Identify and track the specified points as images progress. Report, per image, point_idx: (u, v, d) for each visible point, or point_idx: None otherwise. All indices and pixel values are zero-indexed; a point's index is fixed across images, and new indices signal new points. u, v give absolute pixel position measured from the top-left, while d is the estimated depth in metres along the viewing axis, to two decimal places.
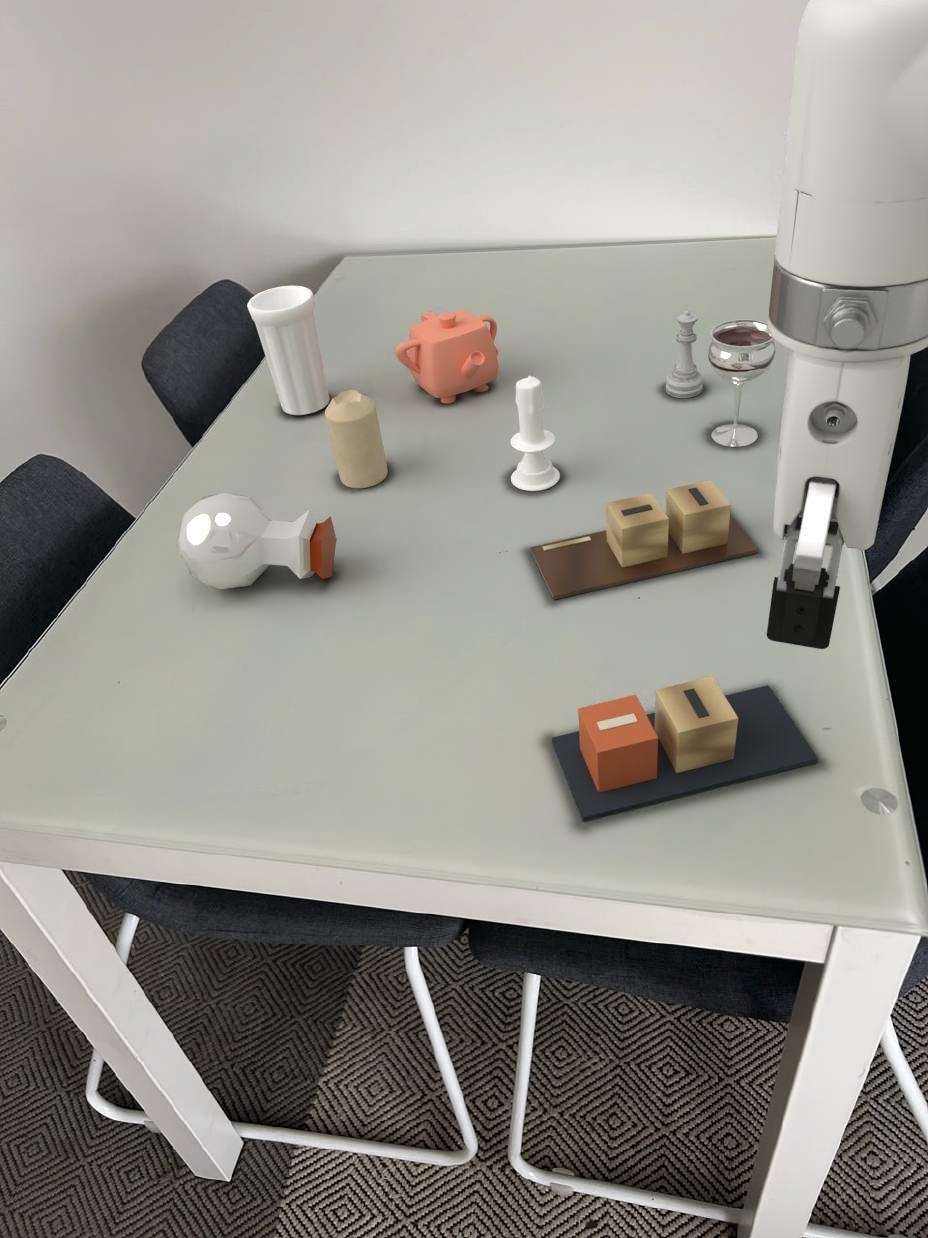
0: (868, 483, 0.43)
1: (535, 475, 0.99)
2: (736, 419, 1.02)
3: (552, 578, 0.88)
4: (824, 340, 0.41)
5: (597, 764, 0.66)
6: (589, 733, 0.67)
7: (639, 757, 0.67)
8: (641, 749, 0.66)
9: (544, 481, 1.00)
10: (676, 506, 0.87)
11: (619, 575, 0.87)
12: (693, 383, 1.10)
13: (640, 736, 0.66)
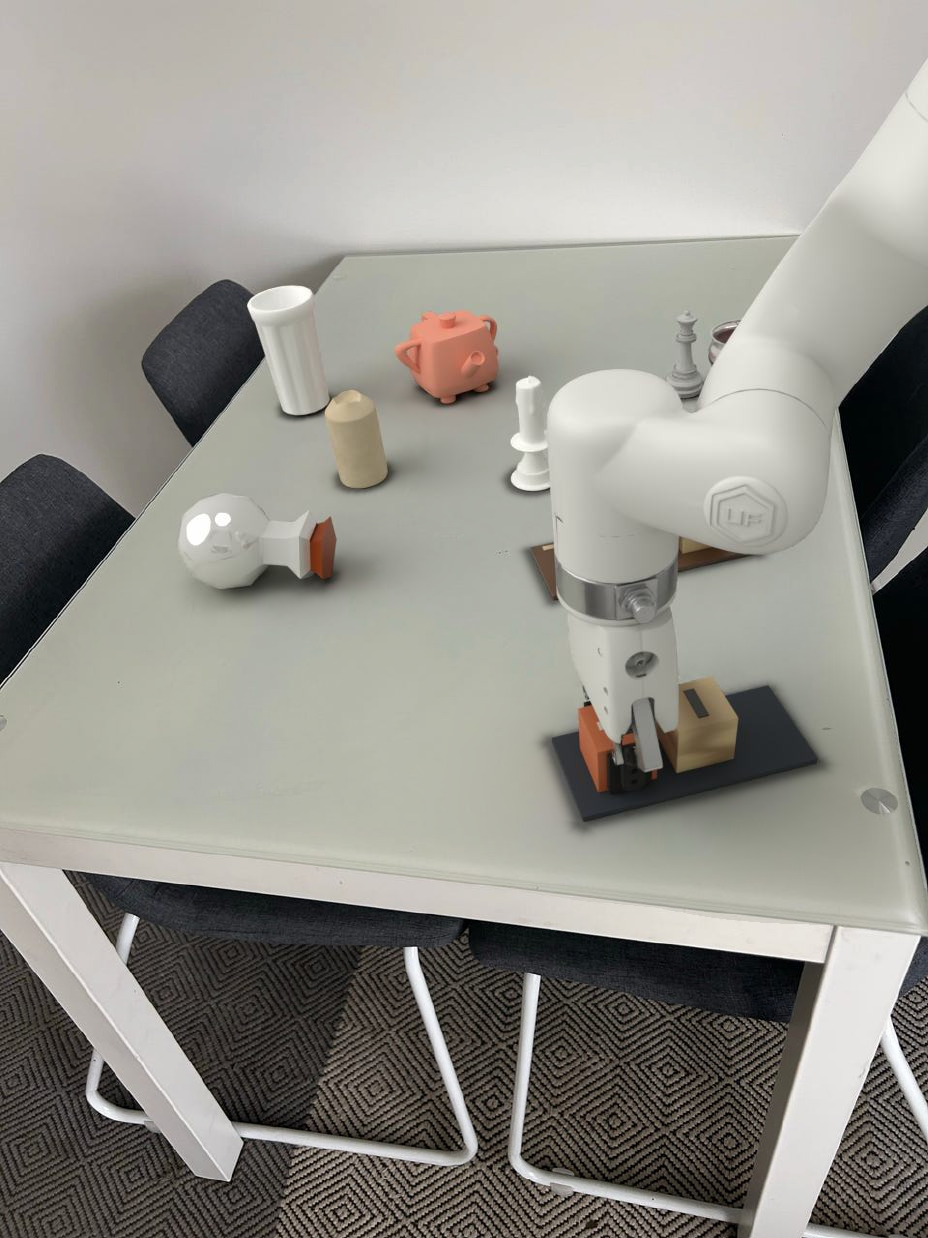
0: (672, 691, 0.59)
1: (535, 475, 0.99)
2: None
3: (552, 578, 0.88)
4: (622, 616, 0.56)
5: (597, 764, 0.66)
6: (589, 733, 0.67)
7: None
8: None
9: (544, 481, 1.00)
10: None
11: None
12: (693, 383, 1.10)
13: None
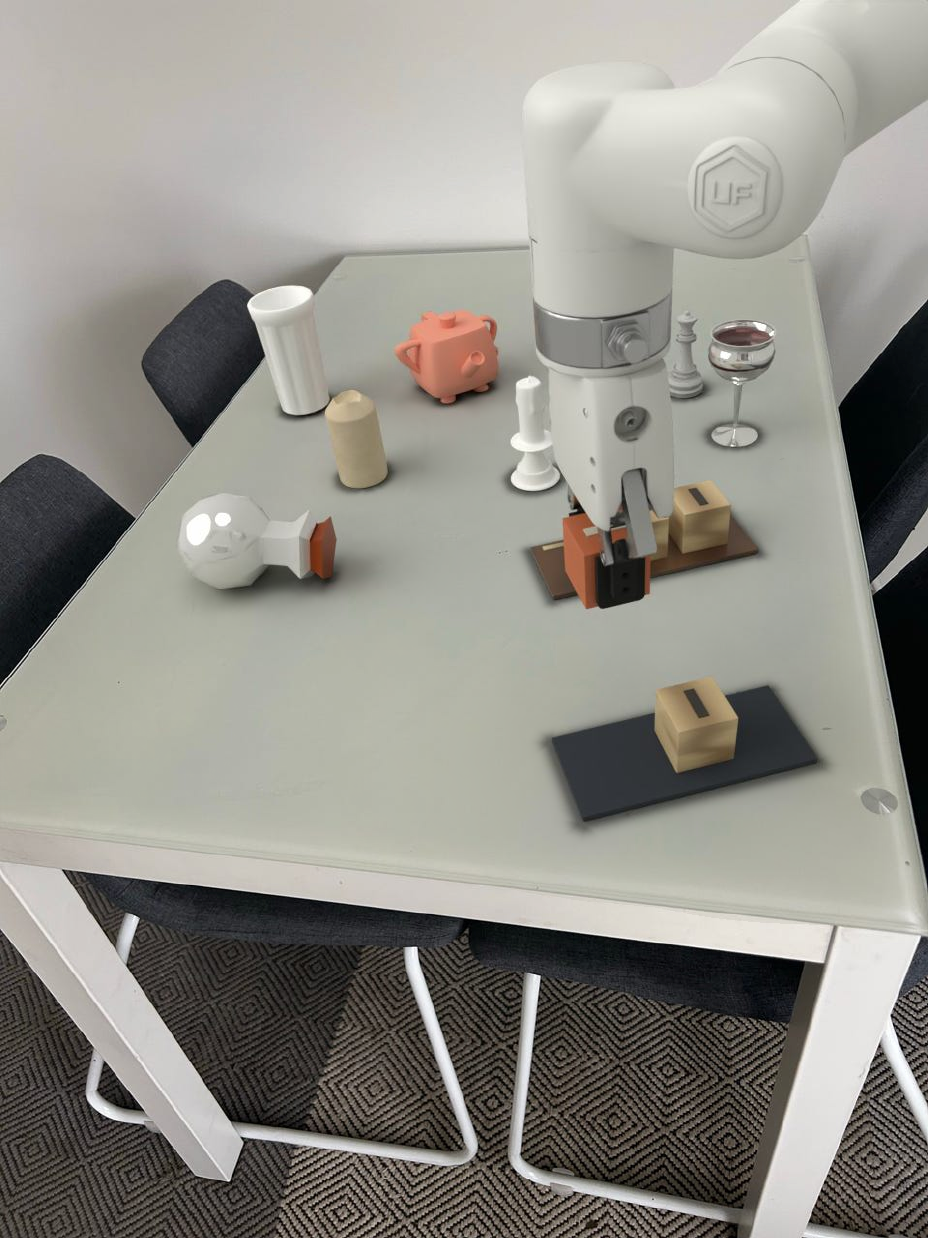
0: (666, 462, 0.53)
1: (535, 475, 0.99)
2: (736, 419, 1.02)
3: (552, 578, 0.88)
4: (609, 361, 0.49)
5: (584, 572, 0.60)
6: (575, 539, 0.60)
7: None
8: None
9: (544, 481, 1.00)
10: (676, 506, 0.87)
11: None
12: (693, 383, 1.10)
13: None
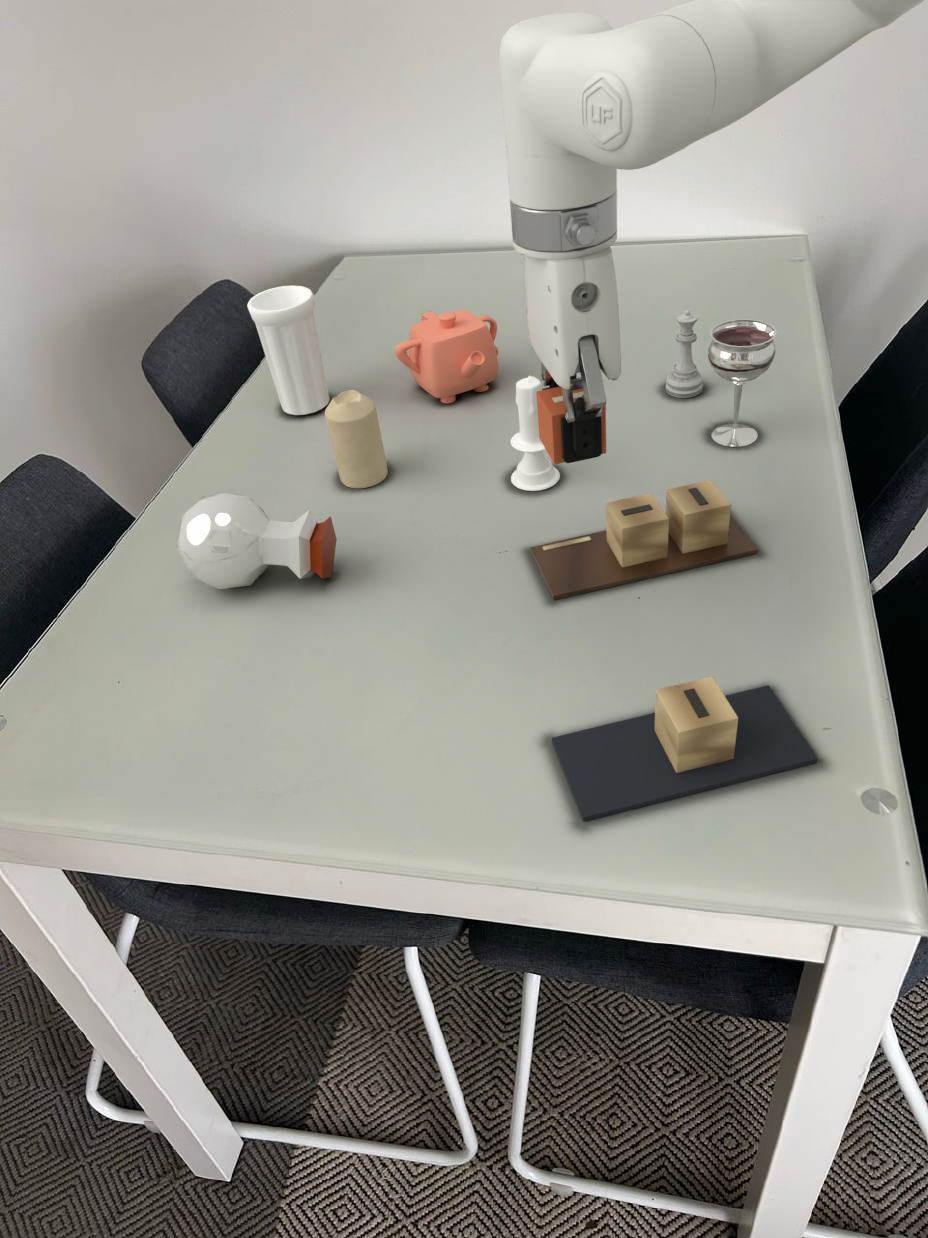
0: (613, 331, 0.68)
1: (535, 475, 0.99)
2: (736, 419, 1.02)
3: (552, 578, 0.88)
4: (567, 246, 0.64)
5: (552, 430, 0.75)
6: (545, 405, 0.75)
7: None
8: None
9: (544, 481, 1.00)
10: (676, 506, 0.87)
11: (619, 575, 0.87)
12: (693, 383, 1.10)
13: None
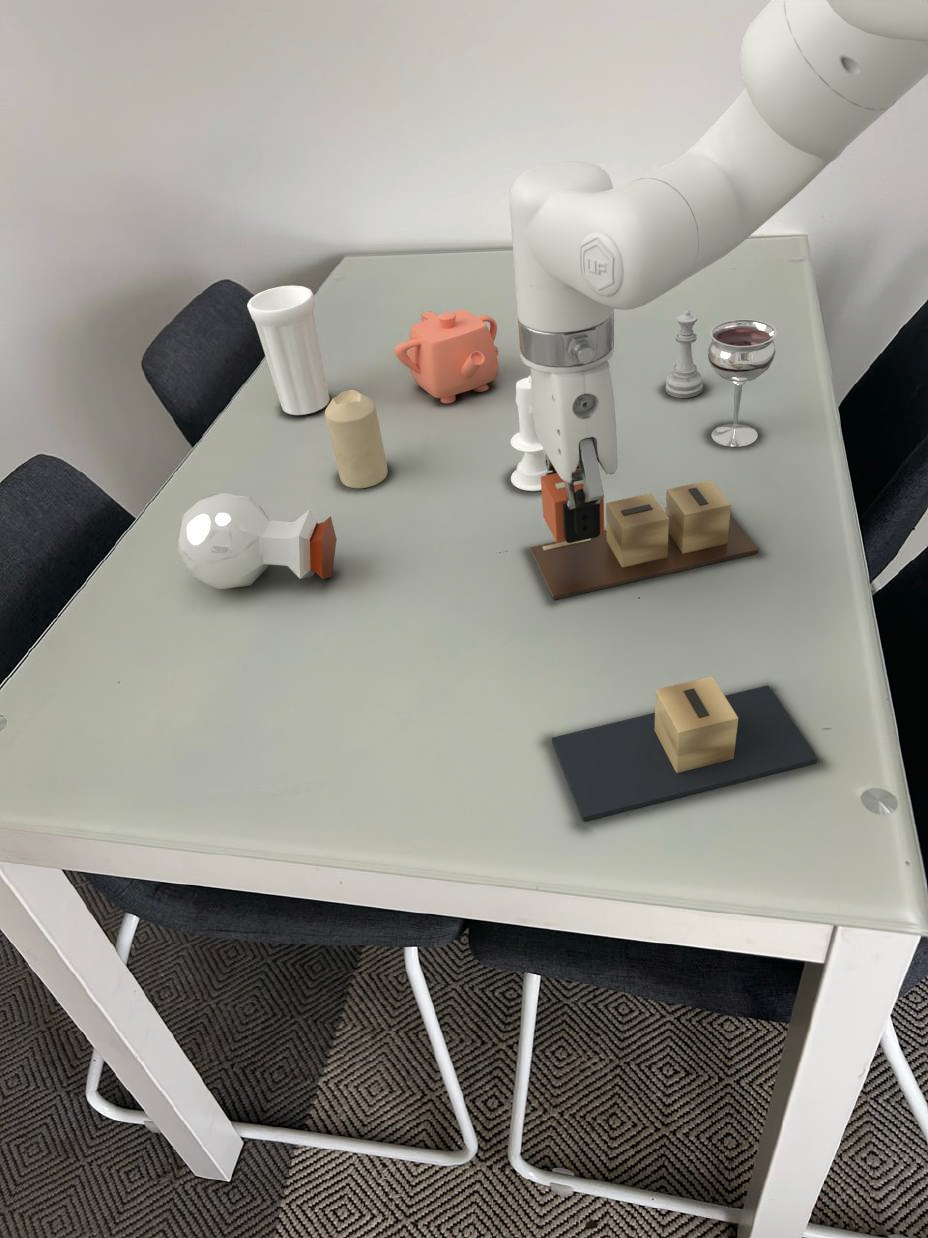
0: (610, 433, 0.75)
1: (535, 475, 0.99)
2: (736, 419, 1.02)
3: (552, 578, 0.88)
4: (569, 362, 0.72)
5: (555, 514, 0.82)
6: (548, 491, 0.83)
7: None
8: None
9: None
10: (676, 506, 0.87)
11: (619, 575, 0.87)
12: (693, 383, 1.10)
13: None
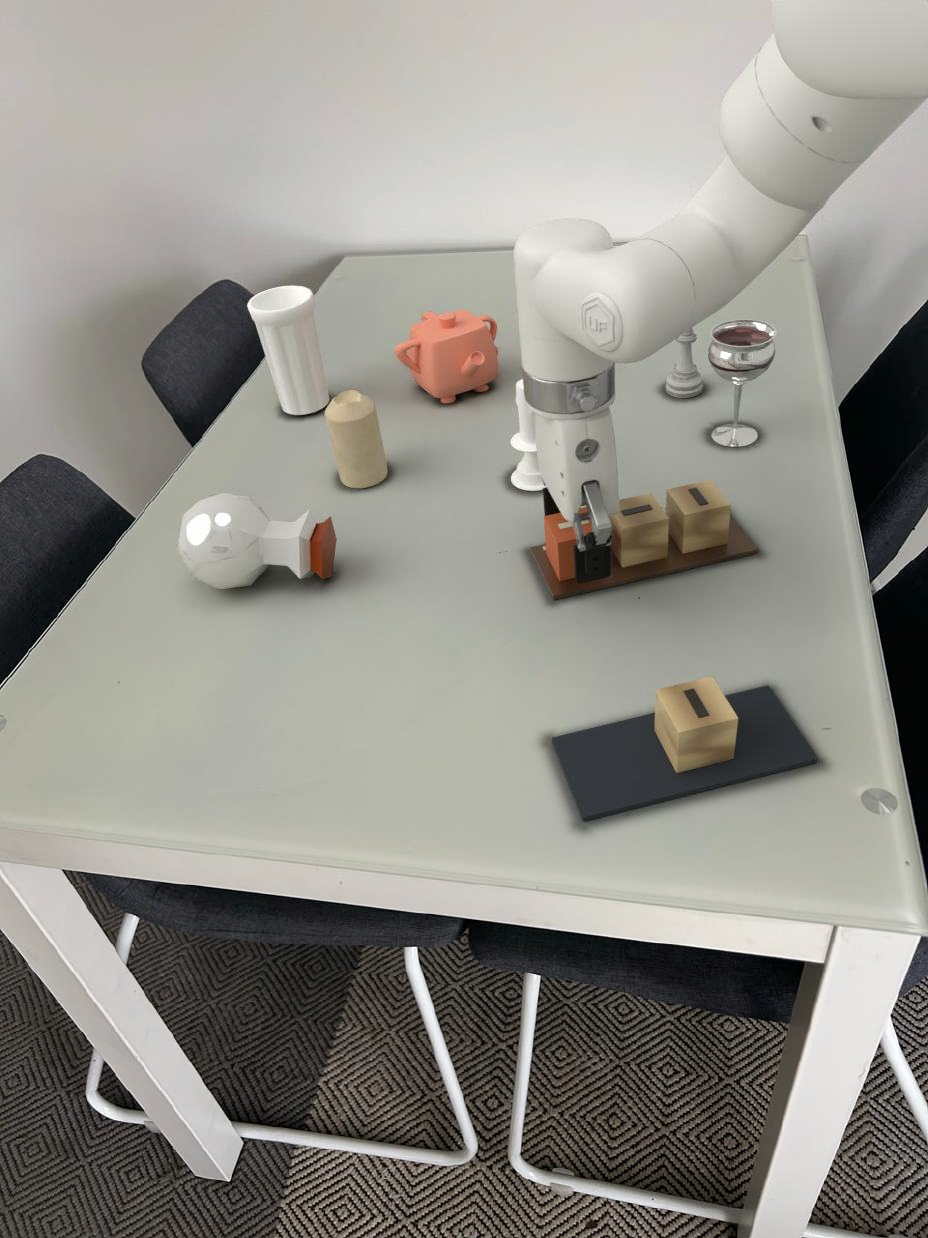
0: (612, 476, 0.78)
1: (535, 475, 0.99)
2: (736, 419, 1.02)
3: (552, 578, 0.88)
4: (572, 409, 0.74)
5: (557, 554, 0.85)
6: (551, 531, 0.86)
7: None
8: None
9: None
10: (676, 506, 0.87)
11: (619, 575, 0.87)
12: (693, 383, 1.10)
13: None
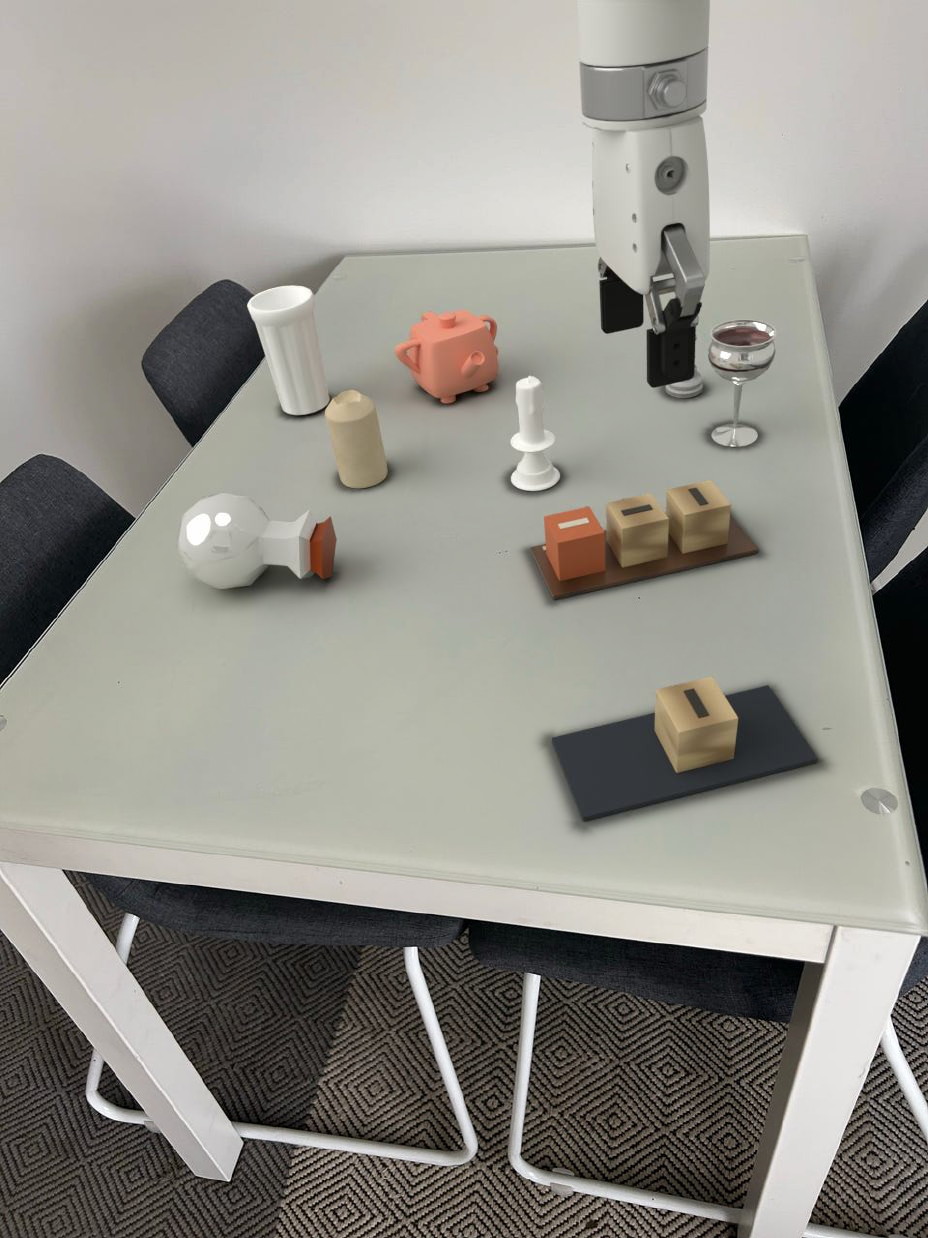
0: (702, 218, 0.57)
1: (535, 475, 0.99)
2: (736, 419, 1.02)
3: (552, 578, 0.88)
4: (651, 111, 0.54)
5: (557, 554, 0.85)
6: (551, 531, 0.86)
7: (590, 549, 0.86)
8: (591, 542, 0.85)
9: (544, 481, 1.00)
10: (676, 506, 0.87)
11: (619, 575, 0.87)
12: (693, 383, 1.10)
13: (591, 532, 0.85)
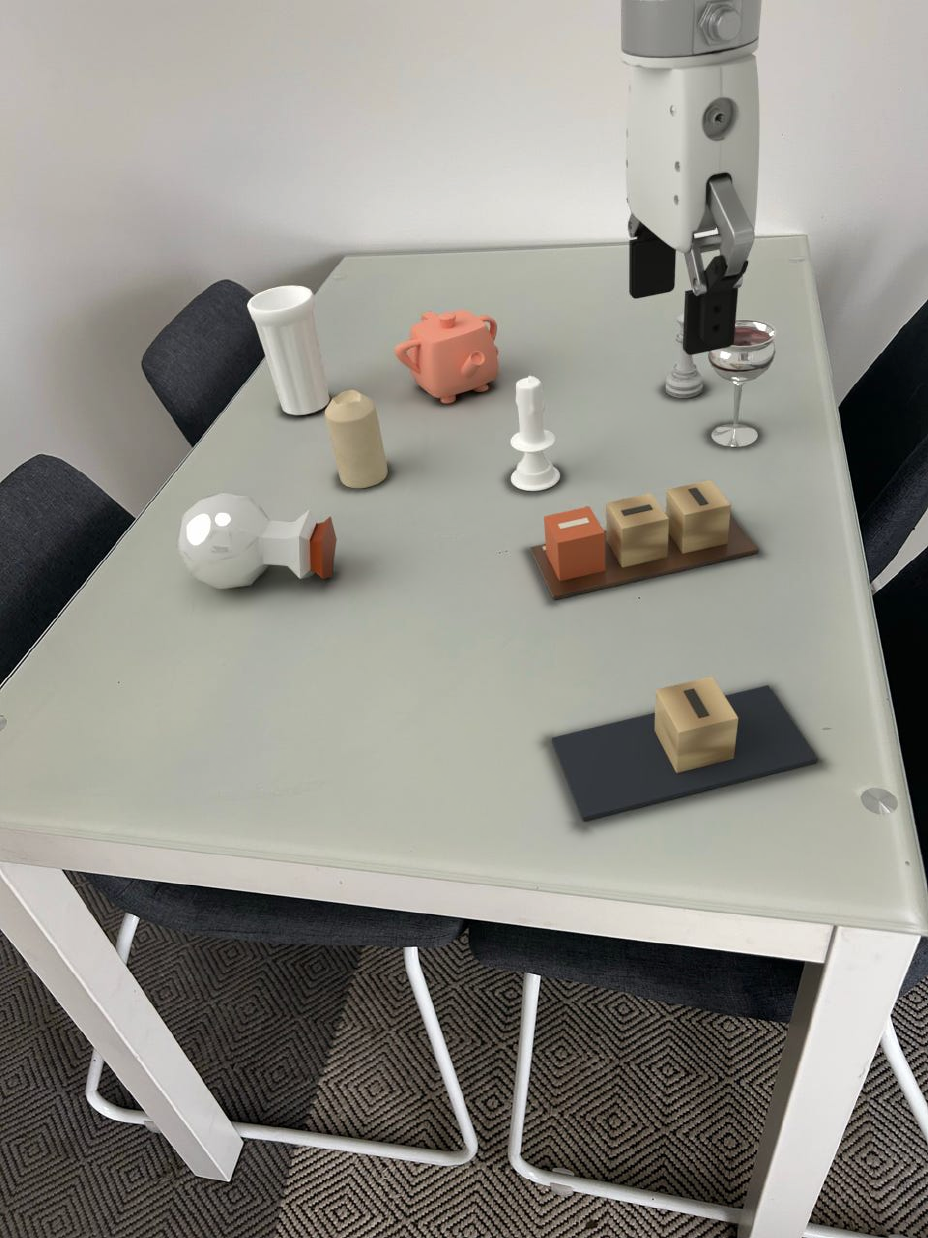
0: (751, 168, 0.52)
1: (535, 475, 0.99)
2: (736, 419, 1.02)
3: (552, 578, 0.88)
4: (700, 46, 0.49)
5: (557, 554, 0.85)
6: (551, 531, 0.86)
7: (590, 549, 0.86)
8: (591, 542, 0.85)
9: (544, 481, 1.00)
10: (676, 506, 0.87)
11: (619, 575, 0.87)
12: (693, 383, 1.10)
13: (591, 532, 0.85)
